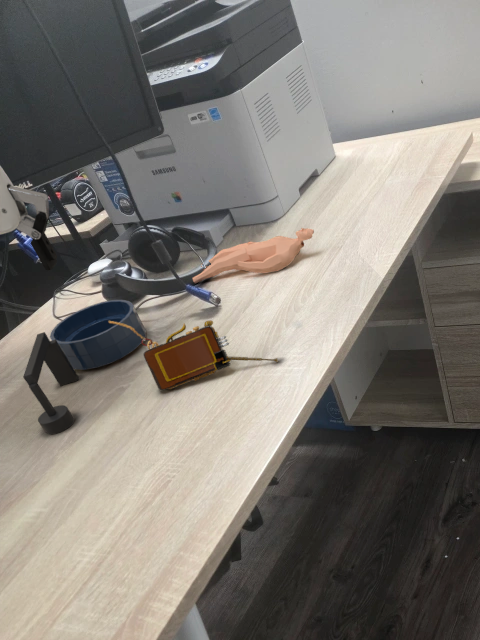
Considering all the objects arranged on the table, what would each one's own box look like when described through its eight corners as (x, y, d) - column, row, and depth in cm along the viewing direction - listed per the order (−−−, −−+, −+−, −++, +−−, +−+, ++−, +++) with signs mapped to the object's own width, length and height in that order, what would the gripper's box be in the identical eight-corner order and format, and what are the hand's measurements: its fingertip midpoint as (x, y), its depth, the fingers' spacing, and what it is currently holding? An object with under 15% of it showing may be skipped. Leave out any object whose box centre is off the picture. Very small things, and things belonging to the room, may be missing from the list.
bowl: (63, 382, 106) (44, 352, 102) (72, 344, 117) (55, 316, 113) (147, 355, 107) (131, 325, 103) (148, 320, 117) (134, 291, 114)
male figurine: (198, 249, 129) (315, 214, 123) (210, 272, 133) (324, 239, 126) (183, 272, 122) (306, 236, 115) (195, 296, 125) (316, 263, 118)
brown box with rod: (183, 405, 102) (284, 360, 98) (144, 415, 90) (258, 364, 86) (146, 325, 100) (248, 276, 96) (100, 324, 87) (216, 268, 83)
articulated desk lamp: (72, 428, 94) (40, 378, 88) (43, 437, 94) (8, 388, 88) (82, 375, 106) (54, 328, 101) (56, 384, 106) (26, 337, 100)
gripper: (-150, 164, 74) (-53, 303, 85) (-7, 124, 73) (72, 270, 84) (-119, 148, 80) (-32, 280, 91) (13, 110, 79) (85, 249, 90)
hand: (18, 275), depth 88 cm, fingers open, 9 cm apart
